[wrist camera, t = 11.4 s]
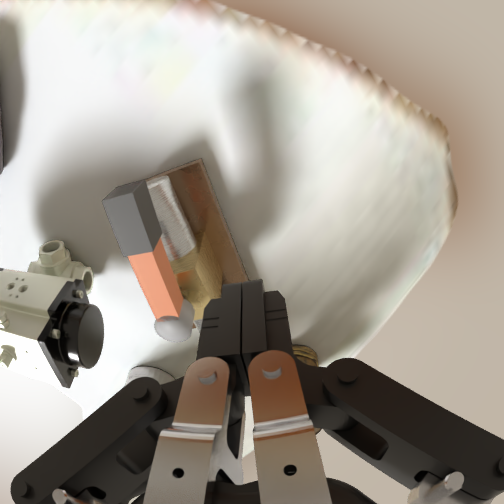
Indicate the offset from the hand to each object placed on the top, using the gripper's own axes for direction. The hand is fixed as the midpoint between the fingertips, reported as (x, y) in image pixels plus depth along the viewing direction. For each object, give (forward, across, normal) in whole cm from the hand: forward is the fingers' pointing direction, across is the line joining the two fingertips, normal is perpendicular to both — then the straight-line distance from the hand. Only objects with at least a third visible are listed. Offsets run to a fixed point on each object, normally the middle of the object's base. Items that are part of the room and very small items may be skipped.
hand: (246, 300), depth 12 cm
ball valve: (+21, +26, +8) cm, 35 cm away
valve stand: (+21, +8, +9) cm, 24 cm away
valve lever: (+11, +8, +4) cm, 14 cm away
